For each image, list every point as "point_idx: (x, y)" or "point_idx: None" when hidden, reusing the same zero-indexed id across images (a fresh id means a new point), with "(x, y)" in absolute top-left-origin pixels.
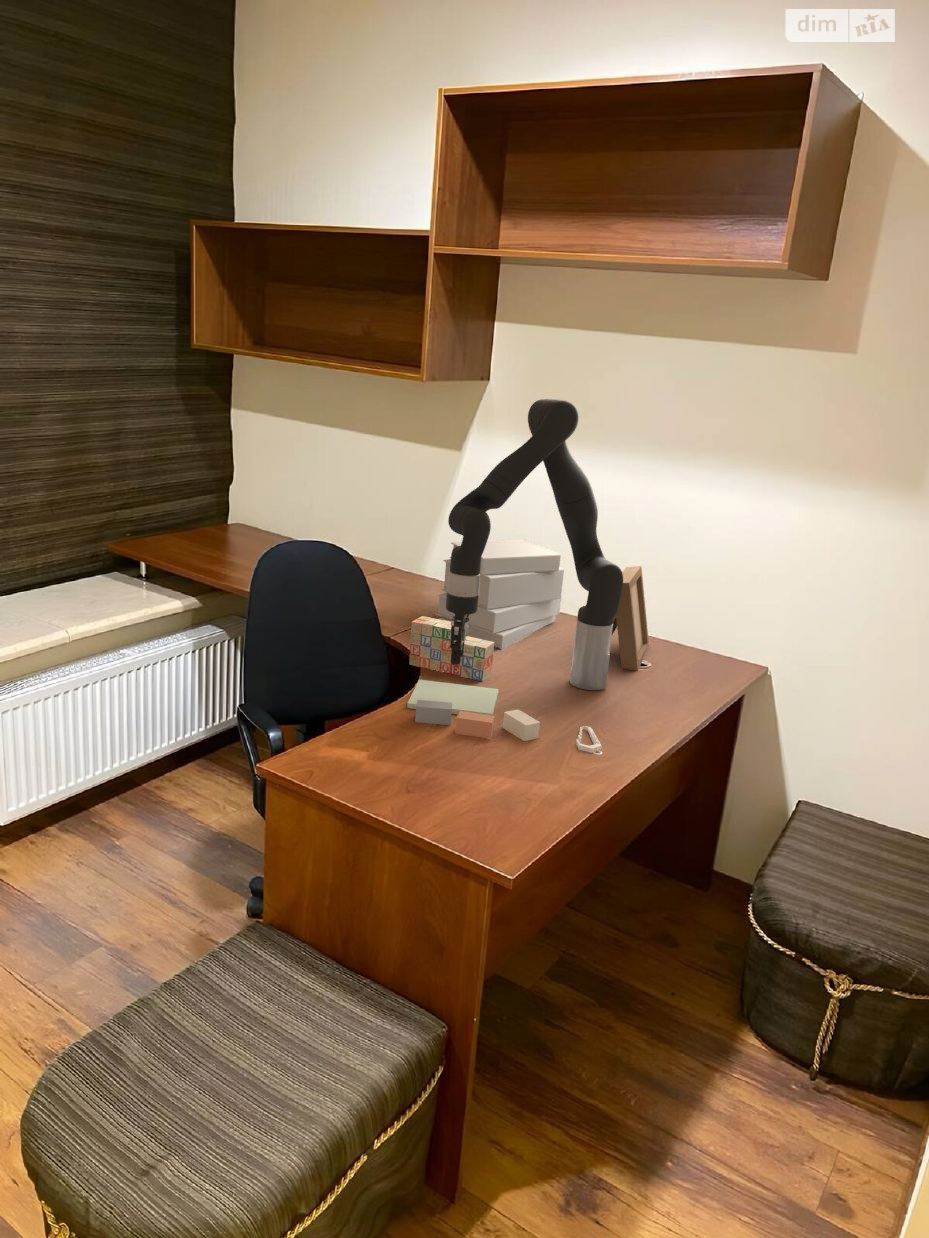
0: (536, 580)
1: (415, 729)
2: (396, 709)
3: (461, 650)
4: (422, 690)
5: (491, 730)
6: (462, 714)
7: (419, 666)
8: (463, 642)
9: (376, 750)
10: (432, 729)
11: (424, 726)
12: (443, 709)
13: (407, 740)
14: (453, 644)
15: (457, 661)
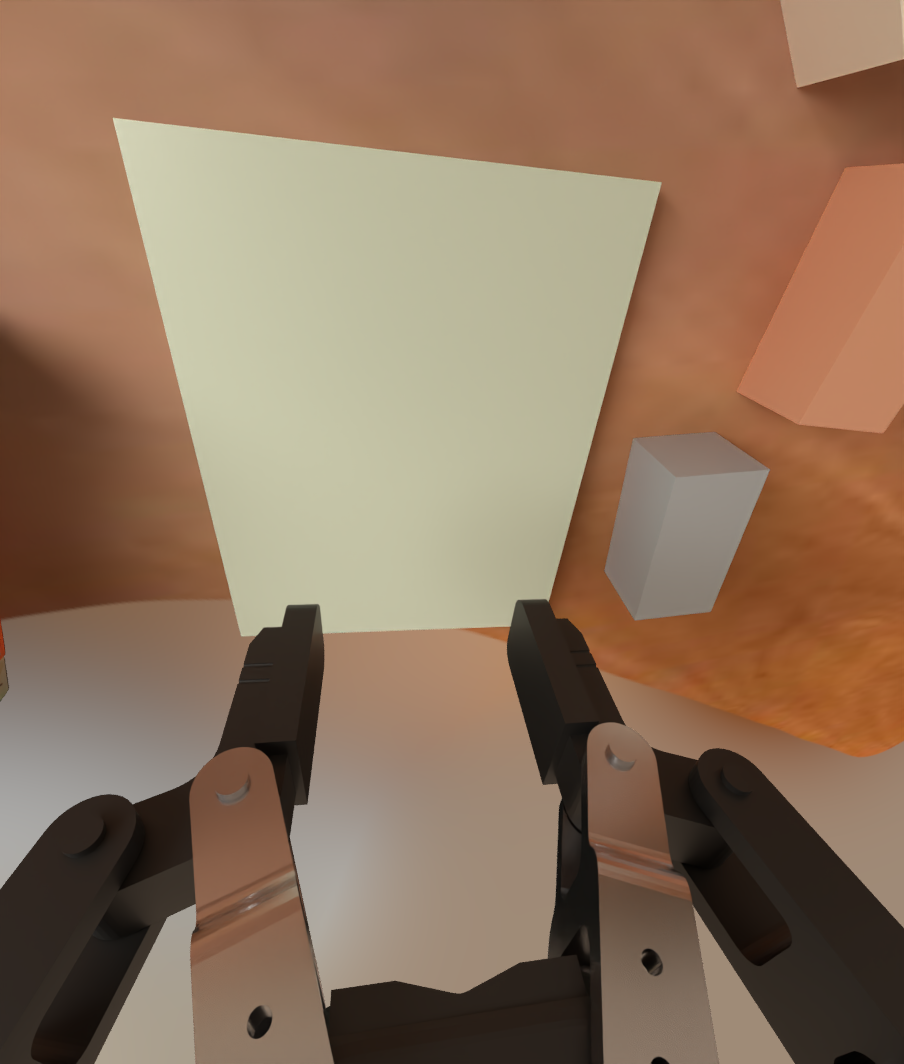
0: None
1: (740, 552)
2: None
3: (311, 665)
4: (380, 603)
5: None
6: (850, 405)
7: (3, 656)
8: (283, 746)
9: (872, 619)
10: None
11: None
12: (752, 506)
13: (828, 559)
14: (727, 857)
15: (576, 633)
